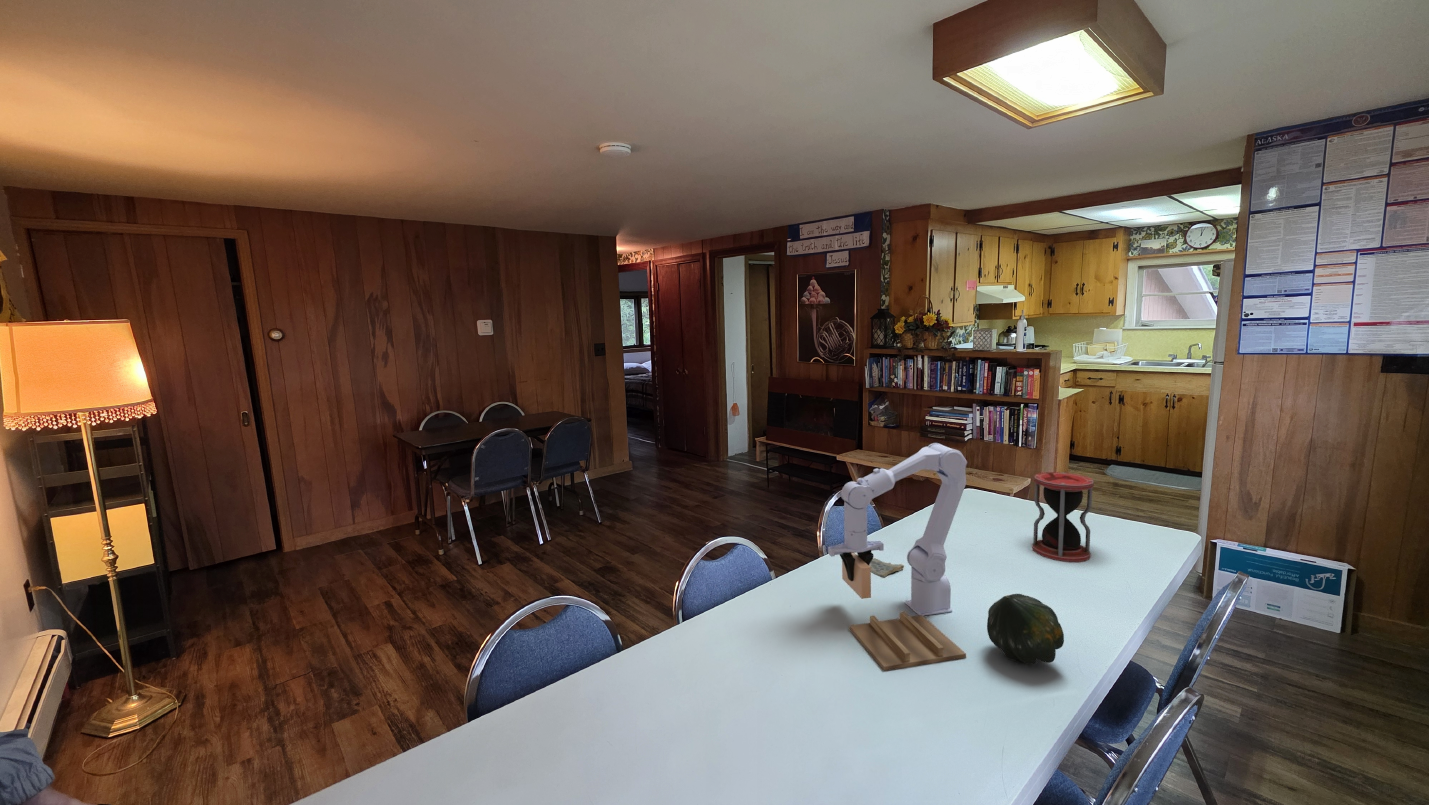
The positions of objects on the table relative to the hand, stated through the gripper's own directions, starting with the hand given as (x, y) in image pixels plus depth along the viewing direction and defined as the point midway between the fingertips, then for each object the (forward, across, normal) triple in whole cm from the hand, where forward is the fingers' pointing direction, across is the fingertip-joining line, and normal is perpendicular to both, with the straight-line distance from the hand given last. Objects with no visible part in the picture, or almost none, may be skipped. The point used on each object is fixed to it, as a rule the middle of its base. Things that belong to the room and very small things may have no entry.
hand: (856, 578), depth 146 cm
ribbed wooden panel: (+10, -5, +15) cm, 19 cm away
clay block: (+2, 0, 0) cm, 3 cm away
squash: (+10, -27, +27) cm, 40 cm away
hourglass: (+10, -80, -20) cm, 83 cm away
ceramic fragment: (+10, -25, -25) cm, 36 cm away
